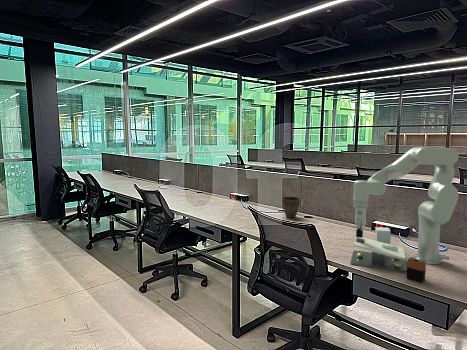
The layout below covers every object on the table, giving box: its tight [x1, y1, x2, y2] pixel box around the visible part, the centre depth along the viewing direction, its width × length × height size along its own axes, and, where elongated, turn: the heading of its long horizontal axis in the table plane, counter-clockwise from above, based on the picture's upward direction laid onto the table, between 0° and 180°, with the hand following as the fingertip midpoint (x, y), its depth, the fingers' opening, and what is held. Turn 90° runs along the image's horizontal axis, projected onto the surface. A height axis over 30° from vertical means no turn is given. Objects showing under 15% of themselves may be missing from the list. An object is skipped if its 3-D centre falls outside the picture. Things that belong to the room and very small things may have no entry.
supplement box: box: [374, 226, 392, 245], centre depth 186 cm, size 7×7×13 cm
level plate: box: [353, 236, 406, 261], centre depth 169 cm, size 24×16×4 cm, turn 65°
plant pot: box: [281, 196, 301, 219], centre depth 265 cm, size 15×15×16 cm
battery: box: [405, 256, 427, 283], centre depth 147 cm, size 4×7×10 cm, turn 43°
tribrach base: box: [350, 249, 407, 273], centre depth 170 cm, size 26×20×6 cm
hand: (359, 236), depth 172 cm, fingers closed
